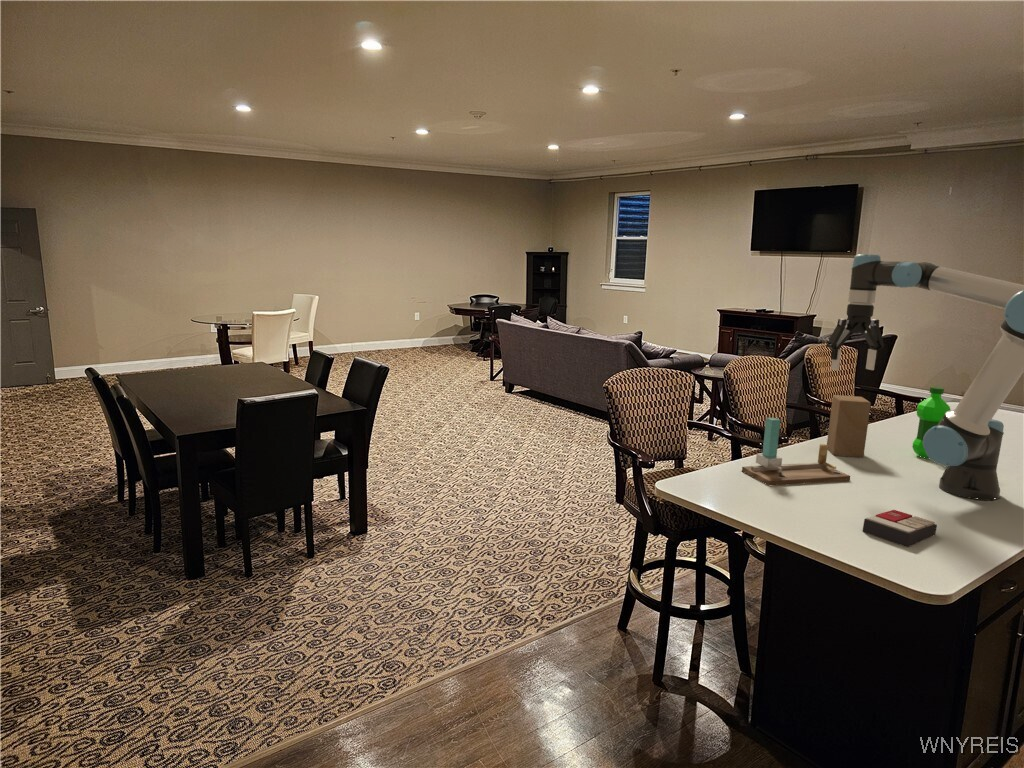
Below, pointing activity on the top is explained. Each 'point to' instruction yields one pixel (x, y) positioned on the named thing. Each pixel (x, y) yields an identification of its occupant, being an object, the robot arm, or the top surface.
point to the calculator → (899, 527)
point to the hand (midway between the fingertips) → (852, 369)
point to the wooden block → (848, 425)
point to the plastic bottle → (929, 417)
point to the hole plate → (799, 472)
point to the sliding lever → (770, 446)
